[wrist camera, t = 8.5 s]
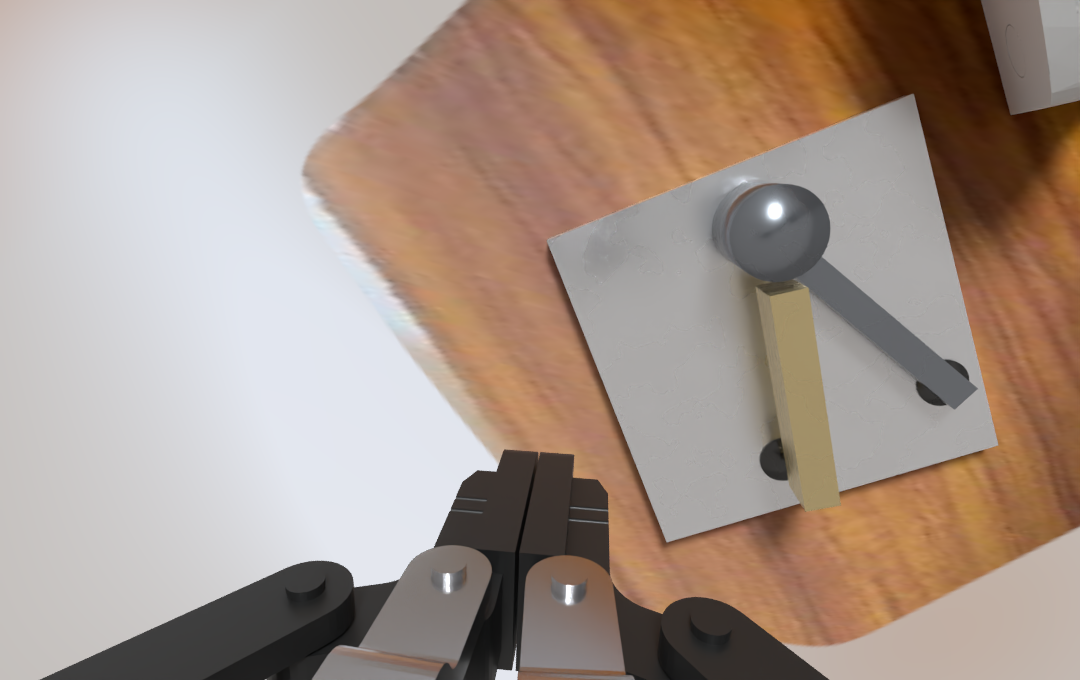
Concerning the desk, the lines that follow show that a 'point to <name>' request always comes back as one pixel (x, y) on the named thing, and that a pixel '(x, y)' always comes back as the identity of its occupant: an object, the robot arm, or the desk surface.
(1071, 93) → the light grey curved piece
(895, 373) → the mounting plate
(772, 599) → the desk surface
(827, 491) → the leg
